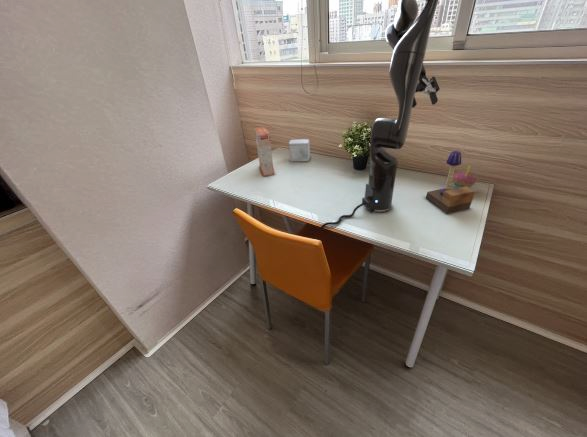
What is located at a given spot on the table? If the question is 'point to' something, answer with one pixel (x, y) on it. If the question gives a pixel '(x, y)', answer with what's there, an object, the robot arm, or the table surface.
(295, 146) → the cosmetics box
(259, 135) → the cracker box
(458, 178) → the cupcake
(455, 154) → the toy lamp
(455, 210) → the tiered shelf
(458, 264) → the table surface
